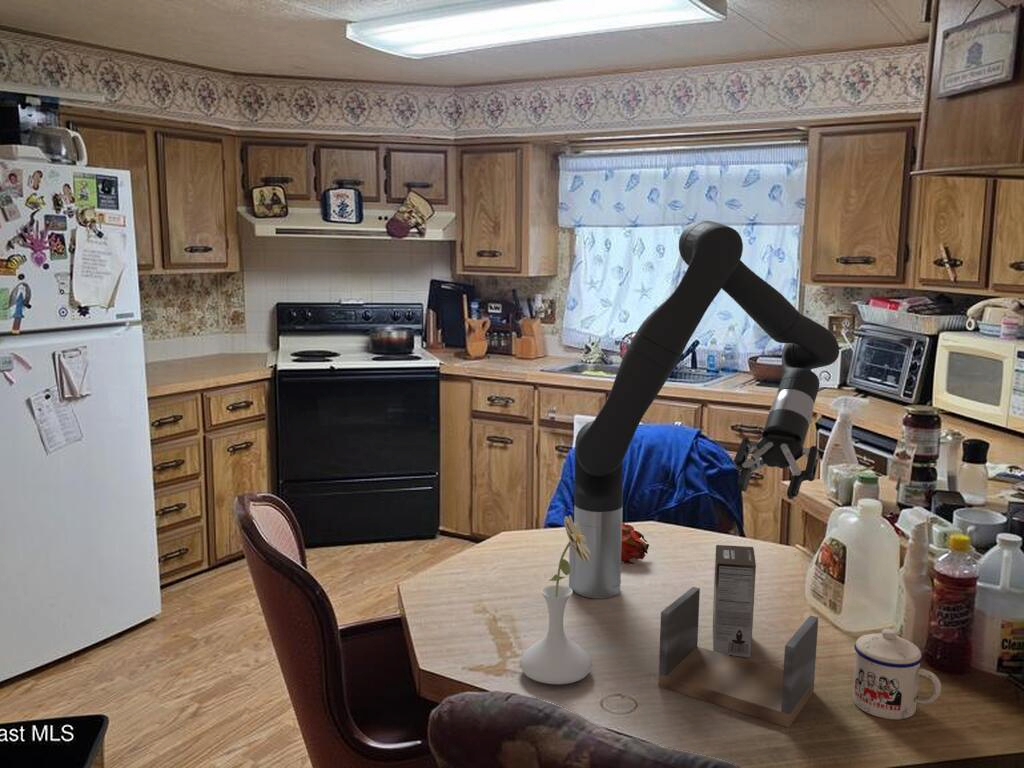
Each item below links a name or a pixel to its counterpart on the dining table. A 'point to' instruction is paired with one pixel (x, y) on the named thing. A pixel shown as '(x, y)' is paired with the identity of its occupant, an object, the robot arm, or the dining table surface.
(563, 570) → the flower in vase
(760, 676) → the shelf bay
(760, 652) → the dining table surface
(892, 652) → the teacup with lid
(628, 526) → the dragon fruit
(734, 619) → the coffee box
